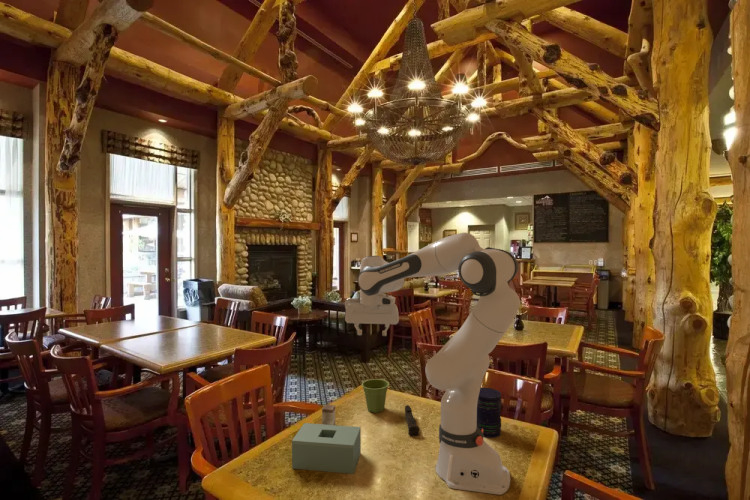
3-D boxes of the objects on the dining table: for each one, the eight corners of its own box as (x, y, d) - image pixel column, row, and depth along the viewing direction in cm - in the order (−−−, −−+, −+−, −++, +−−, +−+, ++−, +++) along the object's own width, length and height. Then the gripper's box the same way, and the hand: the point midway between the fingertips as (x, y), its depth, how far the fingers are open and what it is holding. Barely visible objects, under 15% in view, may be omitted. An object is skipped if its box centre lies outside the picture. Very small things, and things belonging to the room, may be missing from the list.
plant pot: (377, 401, 175) (377, 376, 175) (394, 410, 166) (394, 384, 166) (356, 408, 168) (356, 383, 167) (373, 418, 158) (373, 391, 158)
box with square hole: (360, 453, 132) (360, 427, 132) (353, 473, 121) (353, 445, 120) (304, 448, 135) (304, 423, 135) (292, 468, 124) (291, 440, 123)
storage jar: (475, 436, 143) (475, 396, 143) (473, 424, 153) (473, 387, 152) (503, 439, 141) (503, 398, 141) (499, 426, 151) (499, 388, 151)
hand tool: (419, 437, 144) (419, 424, 144) (408, 437, 144) (408, 424, 143) (413, 414, 163) (413, 403, 162) (403, 414, 162) (403, 403, 162)
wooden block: (335, 431, 148) (335, 405, 148) (332, 436, 144) (332, 409, 144) (325, 430, 148) (325, 404, 148) (322, 435, 144) (322, 409, 144)
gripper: (342, 299, 144) (343, 336, 144) (397, 300, 141) (397, 338, 141) (346, 297, 150) (346, 332, 150) (399, 297, 147) (399, 334, 147)
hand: (372, 335), depth 146 cm, fingers open, 8 cm apart
